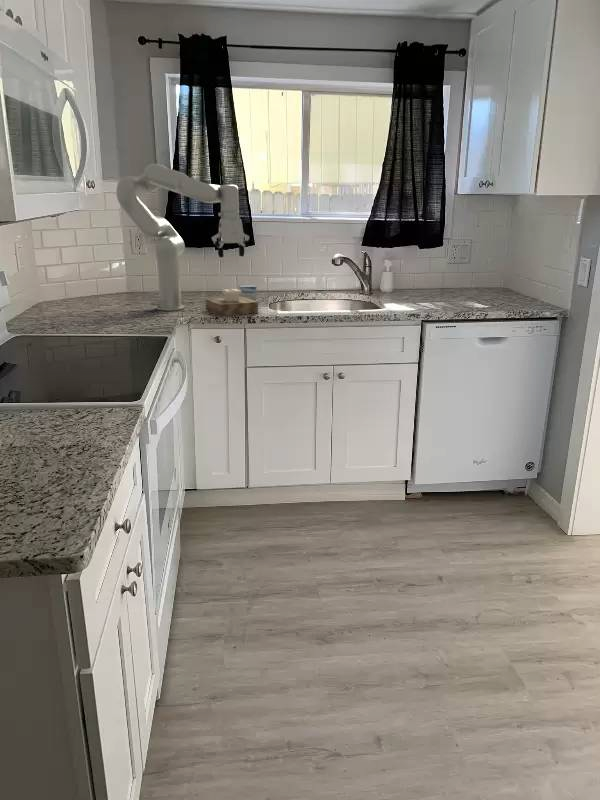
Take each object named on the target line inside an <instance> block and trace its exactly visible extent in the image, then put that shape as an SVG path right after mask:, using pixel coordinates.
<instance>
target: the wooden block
mask: <svg viewBox="0 0 600 800" xmlns="http://www.w3.org/2000/svg"><path fill="white" fill-rule="evenodd" d="M205 310H206V311H207V310H208V311H207V312H209V311H210V312H209V313H211V312H212V314H214V315H216V316H218V317H231V316H241V315H242V314H243V315H250V314H249V313H255V314H258V313H259V301H257V300H256V301H254V300H251V299H248V298H245V297H239V301H234V302H227V301H225V300H224V297H219V298H218V297H216V298H205Z"/></svg>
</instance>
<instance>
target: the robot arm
mask: <svg viewBox="0 0 600 800" xmlns="http://www.w3.org/2000/svg"><path fill="white" fill-rule="evenodd" d="M160 188H163V189H165V190H168V191H171V192H173V193H177V194H179V195H182V196H185V197H188V198H190V199H193V200H196V201H199V202H203V203H205V204H217V203H220V212H218V214H217V215H218V217H220V219H219V223H218V233H216V234H215V235H213V236H211V241H212V242H213V244H214V245H215V247H216V248H217V255H218V257H219V258H224V248H223V246H224V244H238V245H239V246H238V254H239V257H245V248H246V245H247V244H248V242H249V240H250V235H248V234H247V233H246V234H245V232H244V228H243V222H242V219H241V218H240V202H239V186H237V185H235V184H221V185H219V184H213V183H206V182H203V181H200V180H197V179H194V178H192V177H190V176H188V175H187V174H186V173H185V172H181V171H178V170H176V169H172V168H170V167H167V166H165V165H164V164H158V163H150V164H148V165H147V166H146V167H145V168H144V171H143V173H142V174H140V175H138V176H134V175H128V176H124V177H122V178H121V179H120V180H119V181H118V183H117V187H116V198H117V202H118V203H119V206H120V207H121V208H122V210H123V211H124V212H125V213H126V214H127V216H128V217H129V218H130V219H131V220H132V223H134V224H135V226H136V227H137V228H138V229H139V230H140V232H141V233H142V234H143V235H144V236H145V237H146V238H148V239H149V240H150V239H151V240H152V239H153V240H156V244H155V247H154V251H155V257H156V262H157V264H156V265H157V275H158V295H159V298H157V299H156V300H149V301H148V305H149V306H156V309H157V310H159V311H166V312H167V311H169V312H173V311H182V310H184V309H186V305H184V304H182V293H181V292H182V290H181V289H182V288H181V268H180V267H181V266H180V260H179V257H180V256H181V255H182V254H184V252H185V249H186V245H185V242H184V240H183V238H182V237H181V236H180V235H179V233H178V232H177V231H176V230H175V228H174V227H173V226H172V224H171V223H170V222H169V221H168V220H167V219H166V218H164V217H163V216H161V215H160V216H159V215H154V214H153V213H152V212H151V211H150V209H149V207H147V205H146V204H144V203H143V201H142V200H140V199H139V198H143V197H145V196H148V195H149V194H151V193H153V192H154V191H157V190H159V189H160ZM217 239H218V240H217Z"/></svg>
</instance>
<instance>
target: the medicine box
mask: <svg viewBox="0 0 600 800" xmlns="http://www.w3.org/2000/svg"><path fill="white" fill-rule="evenodd" d="M238 290H241V294H239V297H245V298H248V299H251V300H254V301H257V286H256V285H238Z"/></svg>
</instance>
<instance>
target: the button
mask: <svg viewBox="0 0 600 800" xmlns="http://www.w3.org/2000/svg"><path fill="white" fill-rule="evenodd" d="M221 294H223V298H224V300H225V301H227V302H234V301H239V294H241V290H239V288H238V289H237V288H226V289H225V288H224V289H221Z"/></svg>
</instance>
